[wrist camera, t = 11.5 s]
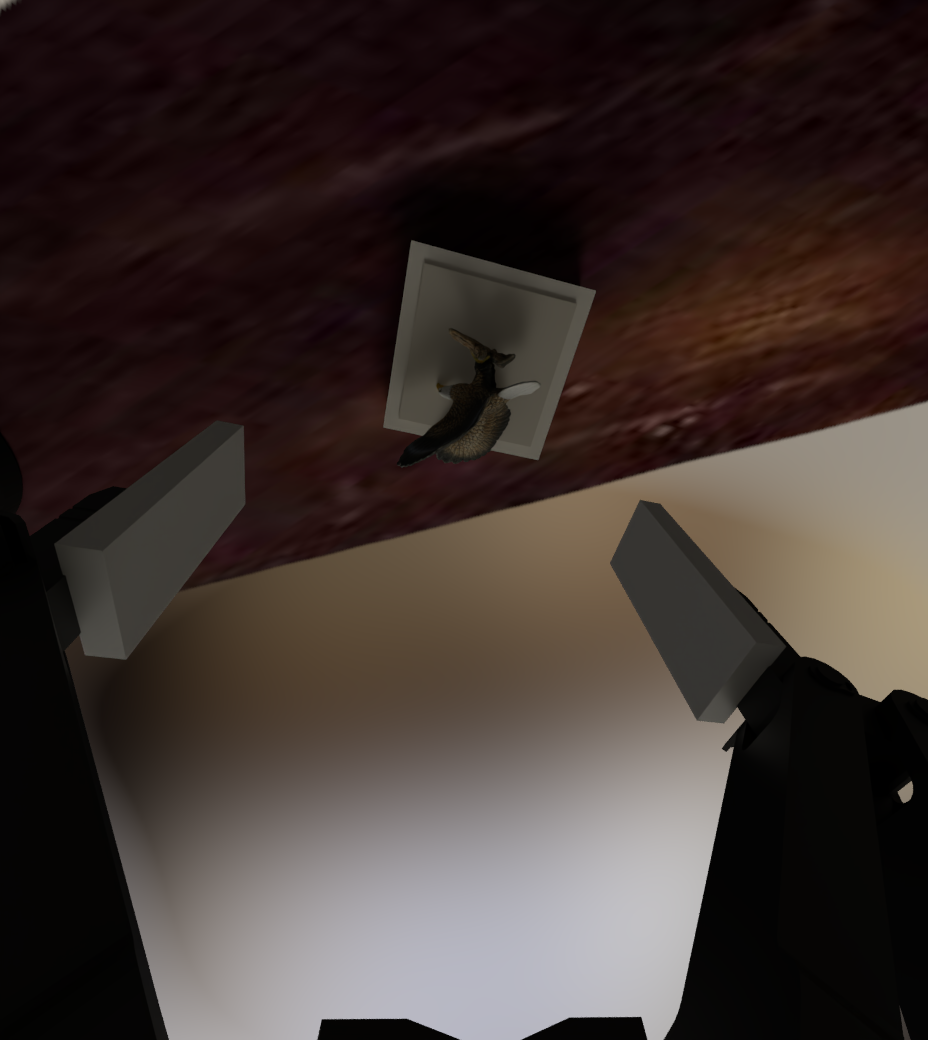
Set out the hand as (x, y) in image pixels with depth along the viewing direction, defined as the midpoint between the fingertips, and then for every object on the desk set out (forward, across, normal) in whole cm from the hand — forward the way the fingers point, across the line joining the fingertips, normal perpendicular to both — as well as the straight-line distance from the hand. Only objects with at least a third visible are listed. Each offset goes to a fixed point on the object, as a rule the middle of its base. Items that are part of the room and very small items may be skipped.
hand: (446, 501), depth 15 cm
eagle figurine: (+19, +2, -2) cm, 19 cm away
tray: (+23, +3, +1) cm, 23 cm away
